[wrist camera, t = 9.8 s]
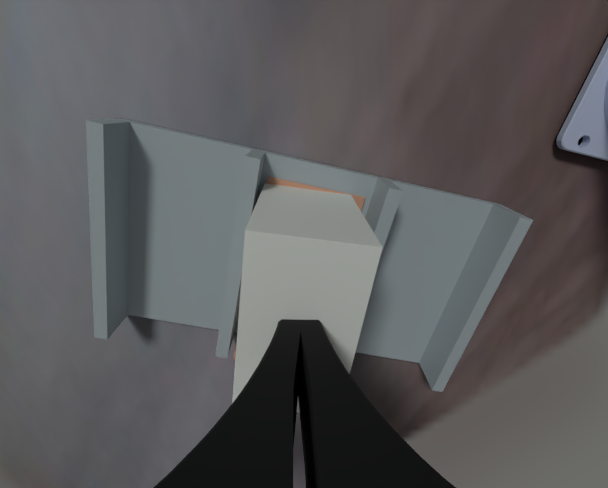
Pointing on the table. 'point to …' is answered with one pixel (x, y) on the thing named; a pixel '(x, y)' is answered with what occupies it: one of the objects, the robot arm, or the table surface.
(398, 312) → the rack
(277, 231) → the off-white matte box
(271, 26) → the table surface
